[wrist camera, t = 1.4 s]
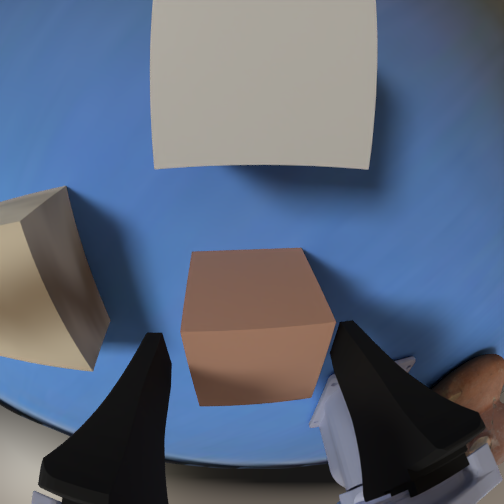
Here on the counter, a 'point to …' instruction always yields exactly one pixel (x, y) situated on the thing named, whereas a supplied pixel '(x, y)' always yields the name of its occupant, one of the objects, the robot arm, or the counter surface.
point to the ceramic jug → (480, 398)
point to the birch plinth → (47, 285)
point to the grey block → (263, 82)
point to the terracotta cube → (254, 326)
